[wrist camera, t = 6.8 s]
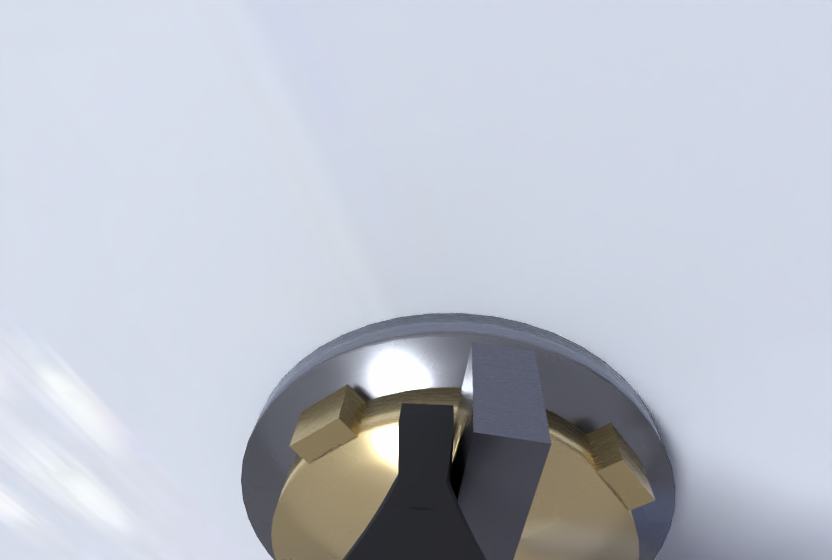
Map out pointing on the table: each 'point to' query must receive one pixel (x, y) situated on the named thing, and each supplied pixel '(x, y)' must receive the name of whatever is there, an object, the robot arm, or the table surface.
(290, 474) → the tabbed brass dial
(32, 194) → the table surface
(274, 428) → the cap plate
